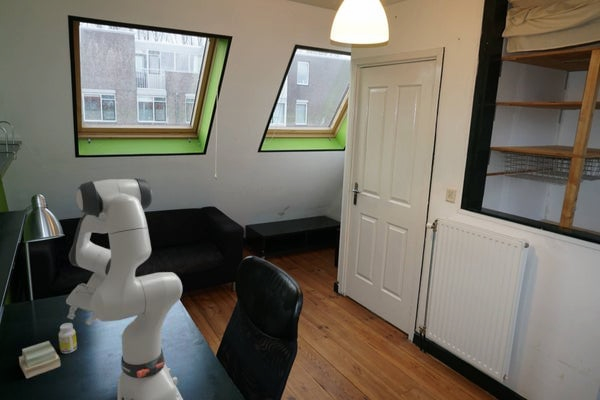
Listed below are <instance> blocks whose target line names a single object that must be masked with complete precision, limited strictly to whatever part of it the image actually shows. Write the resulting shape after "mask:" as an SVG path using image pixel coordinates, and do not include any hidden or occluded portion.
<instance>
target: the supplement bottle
mask: <svg viewBox="0 0 600 400" xmlns="http://www.w3.org/2000/svg"><path fill="white" fill-rule="evenodd" d="M59 329H60V330H59V332H58V342H59V343H58V344H59V350H60V352H61V353H62V354H70V353H73V352H74V351H76V350H77V348H78V342H77V335H76V334H77V333H76V330H75V328H74V324H73V323H72V322H65V323H63V324H61V325H60V327H59Z"/></svg>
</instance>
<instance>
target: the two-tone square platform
mask: <svg viewBox="0 0 600 400" xmlns="http://www.w3.org/2000/svg"><path fill="white" fill-rule="evenodd" d="M21 350H22V355H20V356H19V357H18V359H19V366H20V369H21V370H22V372H23V374H24V376H25V378H26V379H29V378H32V377H34V376H38V375H40V374H43V373H46V372H49V371H51V370H54V369H57V368H60V367H61V359H60V356H59V354H57V351H56V349H55V348H54V346H53V345H52V344H51V342H50V340H46V341H43V342H40V343H37V344H34V345H31V346H28V347H26V348H25V347H24V348H22V349H21Z"/></svg>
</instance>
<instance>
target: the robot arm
mask: <svg viewBox="0 0 600 400" xmlns="http://www.w3.org/2000/svg"><path fill="white" fill-rule="evenodd" d="M75 199H76V203H77V206H78V208H79V210H80V212H81V213H82V214H83V215H82V216H81V218H80V220H79V221H78V224H77V228H76V232H75V235H74V239H73V242H72V243H73V244H72V246H71V248H70V251H69V253H68V259H69V262H70V264H71V265H72V266H74V267H78V268H81V269H84V270H88V271H90V272H92V273H93V274H92V275H91V277H90V278H89V280H88V282H87V283H83V282H82V283H80V284H78V285H77V286H76V287H75V288H74V289H73V290H72V291H71V293H69V295H68V296H67V298H66V299H65V303H66V304H67V305H69V306H70V307H69V311H68V312H69V313H68V315H67V316H66V317H67V318H68V319H70V320H74V319H75V317H76V315H75V312H76V311H77V309H80V310H84V311H86V312H90V313H92V314H91V316H90V317H89V318H86V320H85V321H84V324H86V325H89V326H91V325H92V323H93V322H94V321H95V320H96V319H98V320H99V321H100V322H102V323H104V322H116V321H121V320H126V319H129V318H132V317H134V319H133V320H132V321H131V322H130V323H129V324H127V325H126V327H125V328H124V330H123V332H122V334H121V348H122V349H121V351H122V355H121V358H120V359H121V361H120V366H121V370H122V371H121V373H120V375H119V378H118V380H117V399H116V400H184V398H183V397H182V395H181V393H180V391H179V389H178V387H177V385H178V383H179V382H178V378H177V376H174V377H172V376H171V374H170V373H171V372H172V370H171V367H168V366H167V365H166V361H165V355H164V352H163V349H162V329H163V325H164V322H165V319H166V317H167V316H168V313H169V312H170V311H171V309H173V307H174V306H175V304H177V303H178V302H179V301H180V299H181V297H182V293H183V284H182V281H181V279H180V277H179V276H178V275H177V274H176V273H174V272H171V271H170V272H168V271H166V272H165V271H162V272H161V271H160V272H154V273H150V274H145V275H141V276H140V275H139V276H136V270H137V268H138V267H139V266H140V265H142V264H143V263H145V262H146V261H147V260H148V259H149V258H150V256H151V254H152V245H151V239H150V233H149V227H148V222H147V218H146V215H145V214H146V213H145V211H144V210H145V209H147V208H149V207H150V205H151V204H152V201H153V191H152V188H151V186H150V183H149V182H147V180H146V179H142V178H134V179H132V178H130V179H129V178H122V179H121V178H119V179H117V178H116V179H115V178H111V179H110V178H109V179H103V180H96V181H87V182H83V183H81V184H80V185H79V186H78V189H77V192H76V198H75ZM92 233H94V234H95V233H97V234H108V241H109V248H105V247H103V246H100V245H97V244H95V243H93V242H92V241H91V240H90V239H91V236H92Z"/></svg>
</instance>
